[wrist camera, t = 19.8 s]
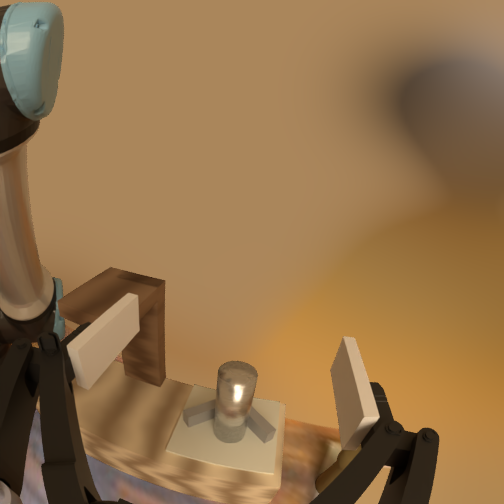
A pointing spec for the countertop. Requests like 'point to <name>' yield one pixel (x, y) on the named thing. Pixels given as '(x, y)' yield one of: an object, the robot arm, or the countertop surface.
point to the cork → (336, 468)
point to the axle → (233, 400)
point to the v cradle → (220, 453)
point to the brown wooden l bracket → (150, 317)
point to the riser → (160, 439)
